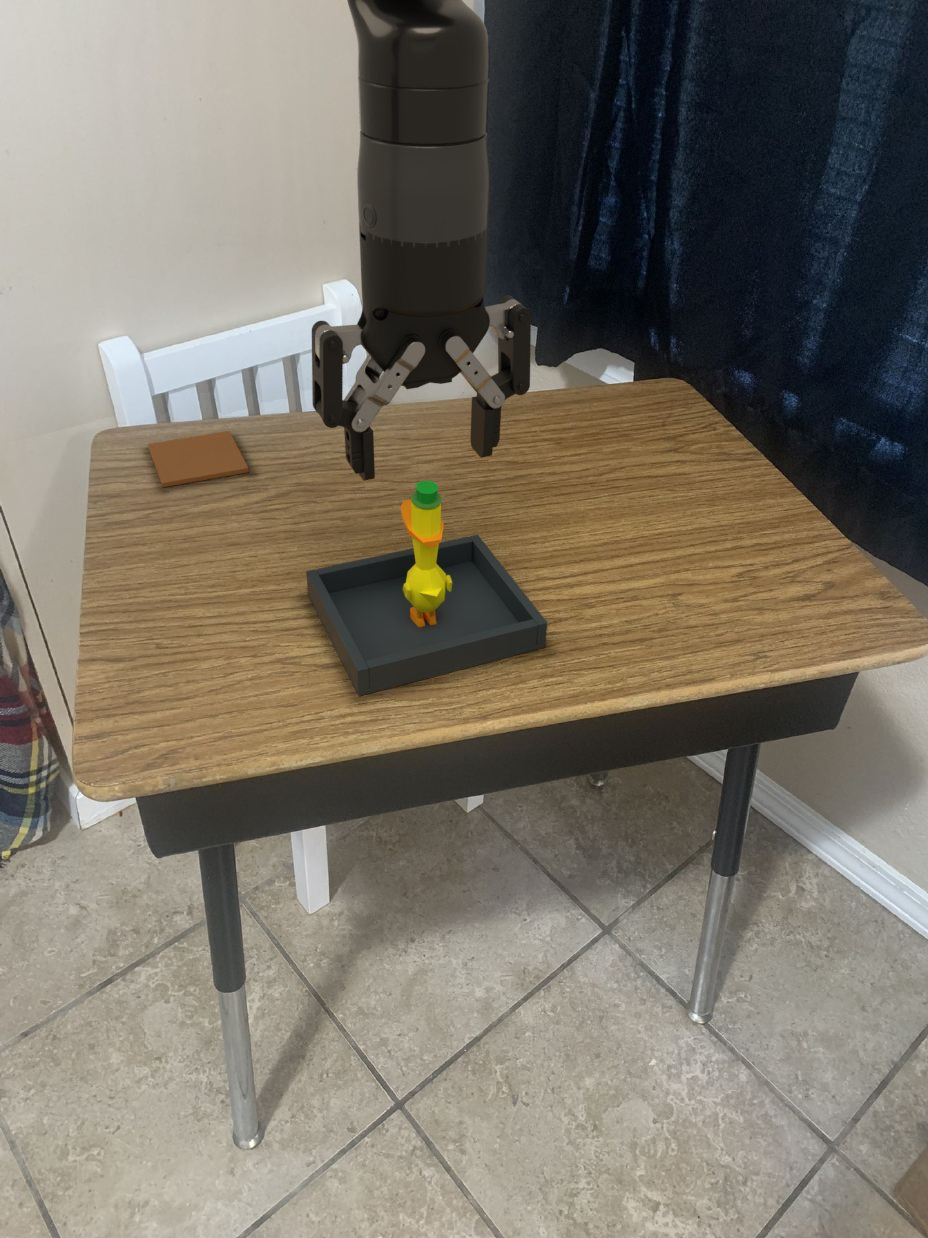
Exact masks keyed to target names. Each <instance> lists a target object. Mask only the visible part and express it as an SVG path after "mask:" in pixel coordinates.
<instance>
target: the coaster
mask: <svg viewBox="0 0 928 1238" xmlns="http://www.w3.org/2000/svg"><path fill="white" fill-rule="evenodd" d="M147 449H148V452H149V454H150V457H151V460H152V463H153V466H154V468H155V470H156V473H157V477H158V479H159V482H160V483H161V484H160V485H161V487H162V488H167V487H173V486H174V487H175V486H179V485H186V484H190V483H196V482H202V481H207V480H214V479H218V478H225V477H229V476H236V475H241V474H247V473H249V472H250V469H249V466H248V464H247V463H246V461H245V458H244V457H243V455H242V453H241V451H240V449H239V447H238V445H237V443H236V441H235V439H234V436H233V435H232V433H231V431H230V430H226V431H220V432H214V433H213V432H212V433H207V434H200V435H195V436H188V437H183V438H177V439H170V440H164V441H157V442H152V443H147Z"/></svg>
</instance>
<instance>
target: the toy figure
mask: <svg viewBox="0 0 928 1238" xmlns="http://www.w3.org/2000/svg"><path fill="white" fill-rule="evenodd" d="M438 491H439V484H437V483H436V482H435V481H433V480H421V481H419V482H416V485H415V492H413V493H412V494H411V496H410V499H405V500H403V501H402V503H401V506H400V515H401V519H402V522H403V525H404V528H405V530H406V532H407V534H408V536H409V537H411V540H412V546H413V547H412V548H414V554H415V561H416V564H415V565H414V566H413V567H412V568H411V569H410V570H409V571H408V573H407V579H406V583H405V584H404V585H403V592H404V595H405V597H406V598H407V599H408V600H409V602H410V603H411V604H412V605H413V606H414V607H411V608H410V618H411V620H412V621H413V622H414V623H415V624H416V625H417V626H418V627H423V626H425V622H424V618H425V620H426V621H427V622H428V623H429V624H430V625H435V624H437V622H436V615H435V610H436V609H437V608H438V606H439V605H440V604H441V603H442V602H443V601H444V600H445V591H446V590H448V591H449V592H451V590H452V580H451V577H450V575H447V576H446V573H445V572H444V571H443V570H442V569H441V568H440V567H439V566H438V565H437V564H436V560H437V553H438V546H439V543H440V542H443V532H444V525H445V523H444V521H443V519H442V502H443V497H442V495H441V494H440V493H439V492H438ZM423 616H424V617H423Z"/></svg>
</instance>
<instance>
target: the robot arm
mask: <svg viewBox="0 0 928 1238" xmlns="http://www.w3.org/2000/svg"><path fill="white" fill-rule="evenodd" d="M346 1H347V6H348V9H349V12H350V16H351V20H352V23H353V27H354V32H355V36H356V41H357V84H358V85H357V94H358V115H359V117H358V119H359V149H358V158H357V173H356V174H357V175H356V176H357V181H356V182H357V183H356V185H357V186H356V187H357V207H358V210H357V211H358V233H359V253H360V254H359V257H360V259H359V260H360V282H361V283H360V284H361V285H360V287H361V300H362V310H361V314H360V317H359V318H358V321H357V323H356V324H348V325H334V326H333V325H330V323H329V322H327V321H326V320H318V321H316V322H314V324H313V325H312V327H311V386H312V387H311V388H312V390H311V391H312V392H311V393H312V394H311V395H312V400H311V401H312V408H313V409H314V411H315V412H316V413H317V414H318V416H319V417H320V419H321V421H322V422H323V424H324V426H326V427H327V428H330V429H335V428H337V427H343V433H344V435H343V436H344V450H345V459H346V461H347V463H348V465H349V466H350V468H351V469H352V471H353V473H354V474H356V475H357V474H358V475H359V477H360V478H361V479H362V481H364V482H365V481H369V480H374V479H376V478H375V477H376V471H375V469H376V468H375V466H376V465H375V442H374V441H375V440H374V430H373V428H372V427H371V425H372V422H373V421H374V420H375V418H376V417H377V415H378V413H379V412H380V411H381V410H382V408H383V407H384V406H388V405H389V404H390V403H391V402H392V400H393V399H394V397H395V396H396V394H397V393H398V391H399V390H400V388H401V387H404V388H405V389H406V390H413V389H419V388H420V387H423V386H425V385H428V384H438V385H442V384H449V383H453V379H454V378H456V377H457V376H458V375H459V374H460V375H461V376H462V377H463V378H464V379H465V381H466V382H467V383H468V384H469V386H470V387H471V388H472V389H473V390H474V392H475V393H476V396H471V406H470V407H471V409H470V411H471V412H470V440H469V441H470V445H471V449H473V451H474V452H475V454H477V456H478V457H480V458H481V459H483V458H487V457H491V456H492V455H493V449H494V448H497V447H498V445H499V442H500V440H501V439H500V438H501V421H502V407H503V405H504V403H505V401H506V400H508V399H509V398H511V397H512V396H514V395H517V396H523V395H525V394H527V393H528V392H529V390H530V387H531V343H532V342H531V340H532V339H531V338H532V337H531V336H532V335H531V333H532V313H531V311H530V310H529V309H528V308H527V307H525V305H523V304H522V303H521V302H519V301H518V300H517V299H516V298H514V297H513V296H511V295H510V294H508V295H507V294H506V295H503V296H502V297H501V298H500V299H499V300H498V302H497V304H492V305H487V306H485V302H484V297H485V294H486V289H487V264H488V263H487V260H488V239H489V237H488V235H489V233H488V232H489V215H490V211H491V206H492V205H491V204H492V203H491V202H492V201H491V196H490V187H491V185H490V183H491V182H490V179H491V178H490V176H491V175H490V161H489V152H488V117H489V116H488V115H489V87H490V80H489V79H490V40H489V34H488V30H487V27H486V24H485V22H484V21H483V19H482V18H481V17H480V16H479V15H478V14H477V13H476V12H475V11H474V10H473V9H472V8H471V7H469V5H467V4H466V3H465V2H464V0H346ZM490 327H491V331H492V333H493V334H494V335H495V336H497V373H495V374H493V375H490V374H489V372H488V370H487V369H486V368H485V367H484V366H483V364H482V363H481V362H480V360H479V359H478V358H477V357H476V355H475V354H474V352H475V351H476V350H477V348H478V347H479V345H480V344H481V342H482V340H483V339H484V337H486V335H487V333H488V331H489V329H490ZM358 346H362V348H363V349H364V350H365V352H367V354H368V355H367V356H366V358H365V360H364V361H363V363H361V366H360V367H359V369H358V370H357V372H356V374H355V380H354V383H353V385H352V386H351V388H350V390H349V391H348V393H347V394H346V395H345V396H344V398H343V388H344V387H343V384H344V383H343V381H344V380H343V379H344V375H343V372H344V370H343V369H344V367H343V366H344V365H346V364H347V363H349V362H350V360H351V358H352V355H353V351H354V350H355V348H356V347H358Z"/></svg>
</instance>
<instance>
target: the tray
mask: <svg viewBox="0 0 928 1238" xmlns="http://www.w3.org/2000/svg"><path fill="white" fill-rule="evenodd" d="M415 564H416V561H415V554H414V547H412V548H407V549H403V550H398V551H395V552H389V553H386V554H385V553H384V554H381V555H375V556H371V557H366V558H361V559H357V560H352V561H347V562H343V563H339V564H333V565H328V566H324V567H319V568H316V569H315V568H314V569H310V570H306V571H305V573H306V575H305V577H306V587H307V596H308V599H309V600H310V602H311V605H312V606H313V608H314V610H315V612H316V615H317V616H318V618H319V620H320V622H321V624H322V626H323V628H324V630H325V632H326V634H327V636H328V639H330V642H331V644H332V646H333V648H334V650H335V652H336V654H337V656H338V657H339V660H340V662H341V664H342V665H343V668H344V669H345V671H346V673H347V675H348V677H349V680H350V681H351V684H352V685H353V687H354V689H355V692H356V693H357V696H359V697H362V696H366V695H369V694H373V693H377V692H380V691H384V690H388V689H392V688H395V687H400V686H403V685H407V684H412V683H415V682H419V681H423V680H427V679H430V678H434V677H438V676H442V675H445V674H449V673H453V672H457V671H461V670H465V669H468V668H472V667H475V666H479V665H484V664H487V663H491V662H494V661H495V662H496V661H500V660H502V659H506V658H511V657H514V656H518V655H523V654H525V653H530V652H533V651H537V650H542V649H545V648H546V642H547V641H546V639H547V631H548V621H547V620H546V618H545V617H544V616H543V615H542V613H540V611H539V610H538V609H537V607H536V606H535V605H534V603H533V602H532V601H531V600H530V598H529V597H528V596H527V595H526V593H525V592H524V591H523V590H522V588H521V587H520V586H519V585H518V583H517V582H516V581H515V580H514V578H513V577H512V576H511V575H510V573H509V572H508V570H506V568H505V567H504V566H503V565H502V563H501V562H500V560H499V559H498V558H497V557H496V556H495V554H494V553H493V552H492V550H491V549H490V548H489V547H488V545H487V544H486V543H485V542H484V541H483V539H482V537H480V535H479V534H474V535H470V536H464V537H459V538H455V539H450V540H446V541H441V542H440V543H439V546H438V553H437V560H436V564H437V565H438V566H439V567H440V568H441V569H442V570H443V571H444V572H445V573H446V576H447V575H450V577H451V580H452V590H451V592H449V591H448V590H446V591H445V600H444V601H443V602H442V603H441V604H440V605H439V606H438V608H437V609H436V610H435V615H436V622H437V624H435V625H430V624H429V623H428V622H427V621H426V620H425V618H424V622H425V626H423V627H418V626H417V625H416V624H415V623H414V622H413V621H412V620H411V618H410V608H411V607H414V606H413V605H412V604H411V603H410V602H409V600H408V599H407V598H406V597H405V595H404V592H403V585H404V584H405V583H406V579H407V573H408V571H409V570H410V569H411V568H412V567H413V566H414V565H415ZM423 617H424V616H423Z"/></svg>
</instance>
